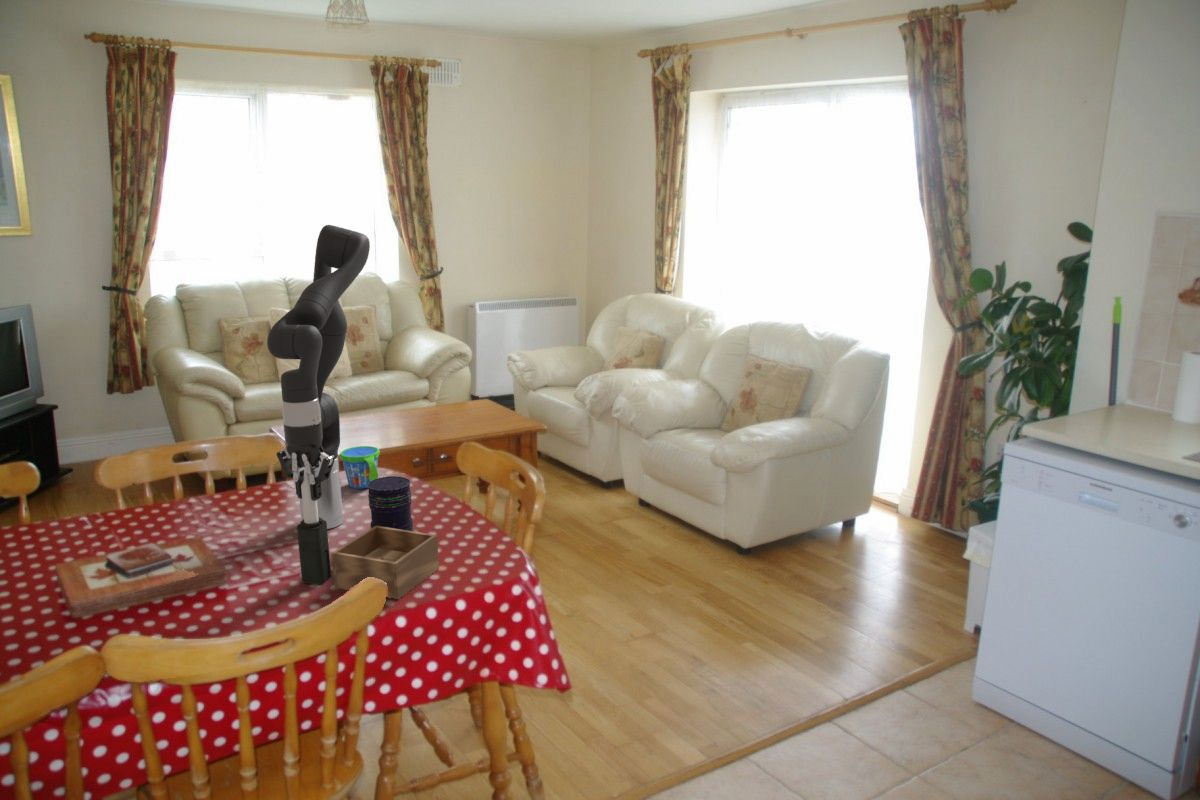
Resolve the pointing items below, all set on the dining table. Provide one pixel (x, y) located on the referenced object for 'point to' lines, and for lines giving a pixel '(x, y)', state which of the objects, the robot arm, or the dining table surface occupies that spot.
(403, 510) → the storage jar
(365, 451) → the snack cup
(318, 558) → the candle
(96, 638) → the dining table surface
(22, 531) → the dining table surface
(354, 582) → the peg box
